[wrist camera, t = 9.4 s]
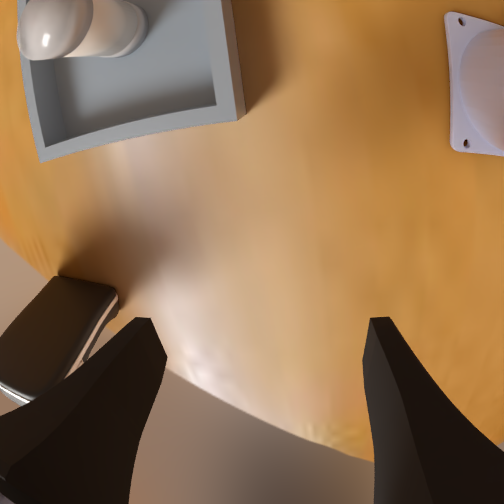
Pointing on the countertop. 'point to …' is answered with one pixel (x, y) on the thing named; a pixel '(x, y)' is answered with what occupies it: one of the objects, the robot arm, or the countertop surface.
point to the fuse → (80, 28)
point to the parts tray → (139, 81)
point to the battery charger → (53, 336)
